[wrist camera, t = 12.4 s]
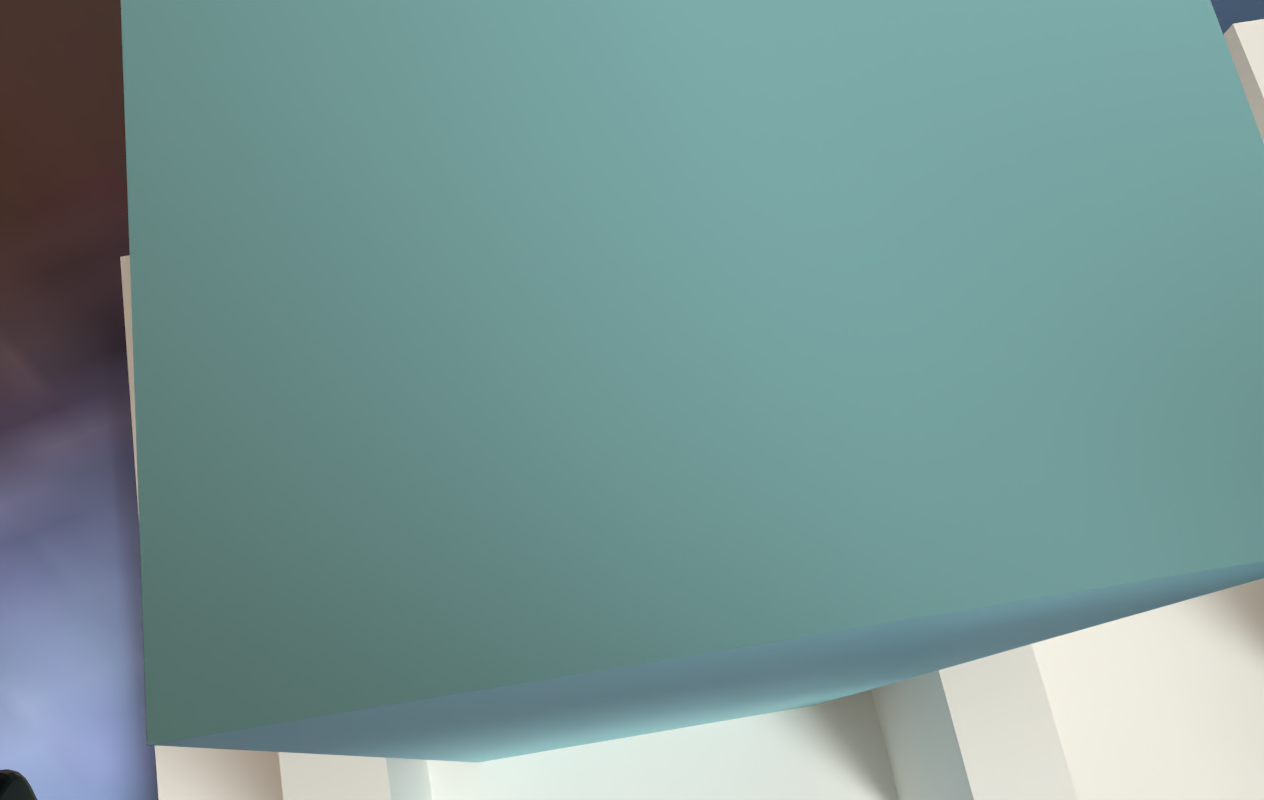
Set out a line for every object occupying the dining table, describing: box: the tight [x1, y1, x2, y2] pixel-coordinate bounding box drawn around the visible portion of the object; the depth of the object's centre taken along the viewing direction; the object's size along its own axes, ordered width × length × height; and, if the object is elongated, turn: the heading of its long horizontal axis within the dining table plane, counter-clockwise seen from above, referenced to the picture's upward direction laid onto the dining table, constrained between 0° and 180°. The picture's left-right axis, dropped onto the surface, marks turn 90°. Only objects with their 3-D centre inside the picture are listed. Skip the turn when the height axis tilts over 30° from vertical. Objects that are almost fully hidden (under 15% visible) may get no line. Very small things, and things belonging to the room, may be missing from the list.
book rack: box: [120, 19, 1264, 800], centre depth 14 cm, size 12×25×10 cm, turn 101°
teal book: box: [121, 0, 1264, 763], centre depth 11 cm, size 6×5×13 cm
